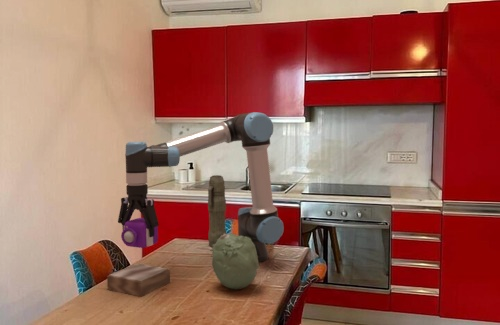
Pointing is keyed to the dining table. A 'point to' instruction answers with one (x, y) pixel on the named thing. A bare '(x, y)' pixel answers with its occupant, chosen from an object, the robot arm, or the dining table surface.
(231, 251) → the cabbage
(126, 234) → the toy camera
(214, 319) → the dining table surface
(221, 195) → the olive green segmented column
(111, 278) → the stand
